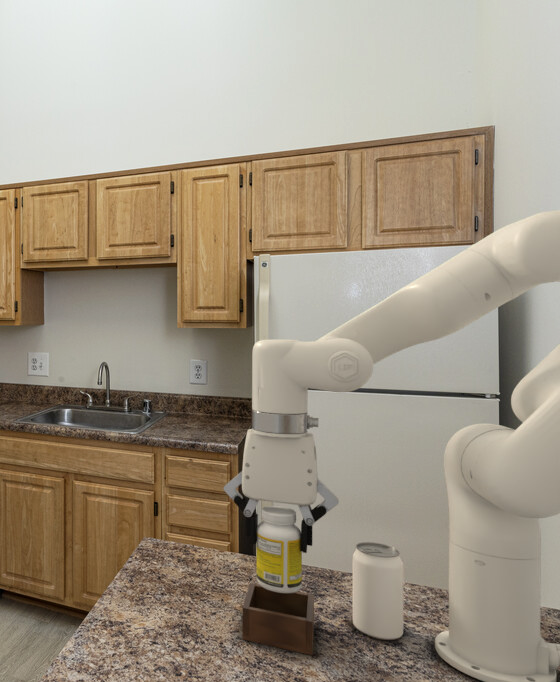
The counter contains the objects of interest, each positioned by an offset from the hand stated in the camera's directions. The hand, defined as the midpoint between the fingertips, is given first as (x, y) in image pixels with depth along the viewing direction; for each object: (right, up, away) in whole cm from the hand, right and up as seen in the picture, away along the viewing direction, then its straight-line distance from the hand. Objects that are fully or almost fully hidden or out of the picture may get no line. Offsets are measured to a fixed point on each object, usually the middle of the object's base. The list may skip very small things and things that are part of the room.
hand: (278, 544), depth 82 cm
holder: (0, -13, 0) cm, 13 cm away
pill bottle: (0, -6, 0) cm, 6 cm away
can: (+15, -13, +1) cm, 20 cm away
